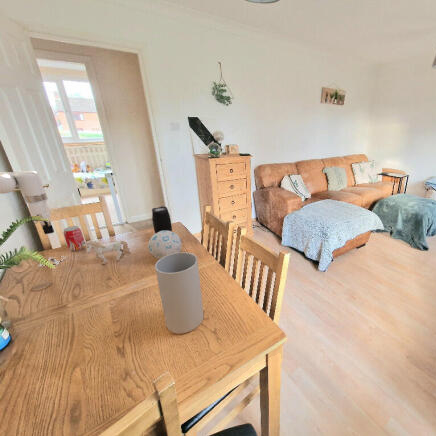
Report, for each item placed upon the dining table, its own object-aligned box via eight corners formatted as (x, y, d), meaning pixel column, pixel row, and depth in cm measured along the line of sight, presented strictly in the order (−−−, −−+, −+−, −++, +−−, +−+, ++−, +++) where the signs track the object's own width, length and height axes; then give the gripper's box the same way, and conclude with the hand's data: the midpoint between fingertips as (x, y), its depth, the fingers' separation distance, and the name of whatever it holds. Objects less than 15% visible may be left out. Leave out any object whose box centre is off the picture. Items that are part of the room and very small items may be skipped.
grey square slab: (36, 266, 111) (35, 263, 111) (47, 257, 118) (46, 254, 118) (57, 264, 114) (56, 261, 113) (67, 256, 121) (66, 253, 120)
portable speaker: (172, 241, 140) (167, 210, 133) (154, 243, 137) (148, 211, 130) (174, 235, 148) (169, 205, 140) (157, 236, 145) (151, 206, 137)
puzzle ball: (189, 256, 126) (185, 231, 121) (161, 269, 114) (156, 241, 109) (172, 247, 134) (168, 223, 128) (144, 258, 122) (139, 232, 116)
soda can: (69, 247, 128) (62, 227, 124) (86, 244, 132) (80, 224, 128) (68, 253, 123) (61, 232, 119) (86, 249, 127) (79, 229, 123)
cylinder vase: (177, 307, 93) (168, 251, 83) (209, 309, 92) (203, 253, 83) (159, 333, 81) (146, 271, 72) (195, 336, 81) (186, 275, 71)
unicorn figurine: (81, 267, 112) (72, 242, 107) (127, 252, 127) (122, 229, 122) (86, 273, 109) (77, 248, 103) (133, 257, 123) (127, 233, 118)
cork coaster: (28, 288, 98) (28, 287, 98) (47, 280, 103) (47, 279, 103) (35, 292, 96) (34, 292, 95) (54, 284, 101) (53, 284, 100)
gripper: (28, 194, 115) (42, 229, 122) (19, 203, 104) (35, 240, 111) (49, 192, 119) (62, 225, 126) (43, 201, 108) (57, 237, 115)
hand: (49, 232), depth 119 cm, fingers closed
